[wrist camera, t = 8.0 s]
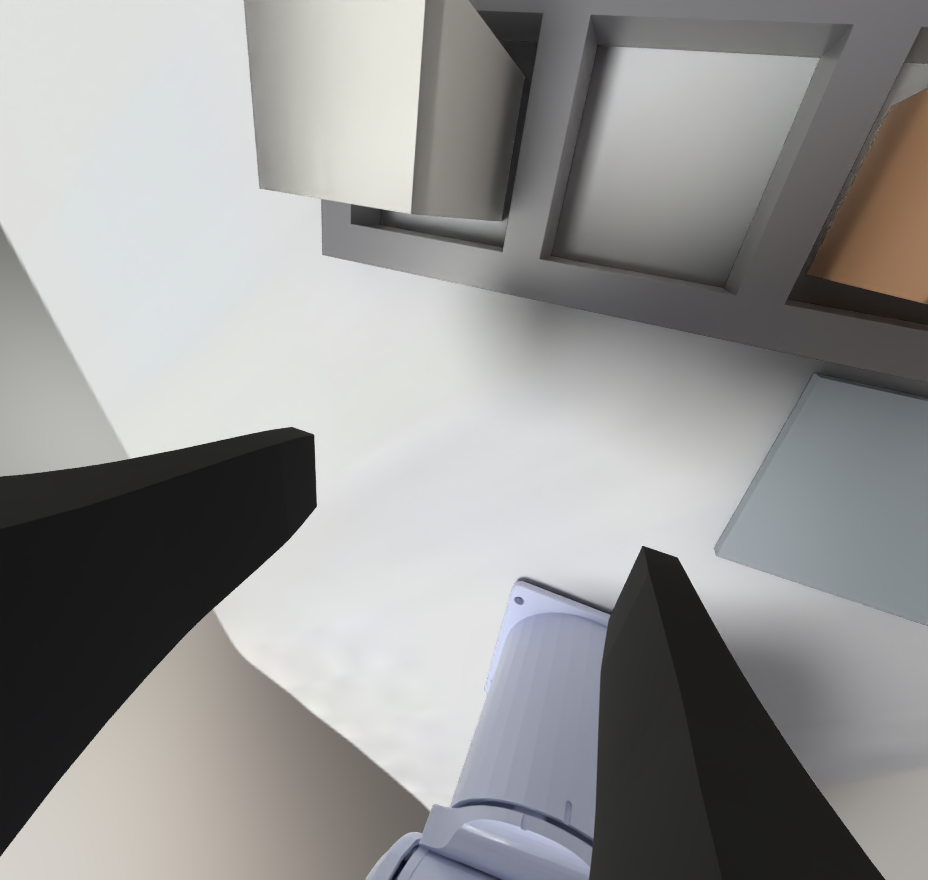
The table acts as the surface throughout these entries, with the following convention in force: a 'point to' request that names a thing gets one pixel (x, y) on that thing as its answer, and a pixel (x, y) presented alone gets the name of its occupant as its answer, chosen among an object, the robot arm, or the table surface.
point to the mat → (843, 499)
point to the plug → (885, 212)
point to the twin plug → (383, 104)
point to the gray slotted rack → (778, 214)
